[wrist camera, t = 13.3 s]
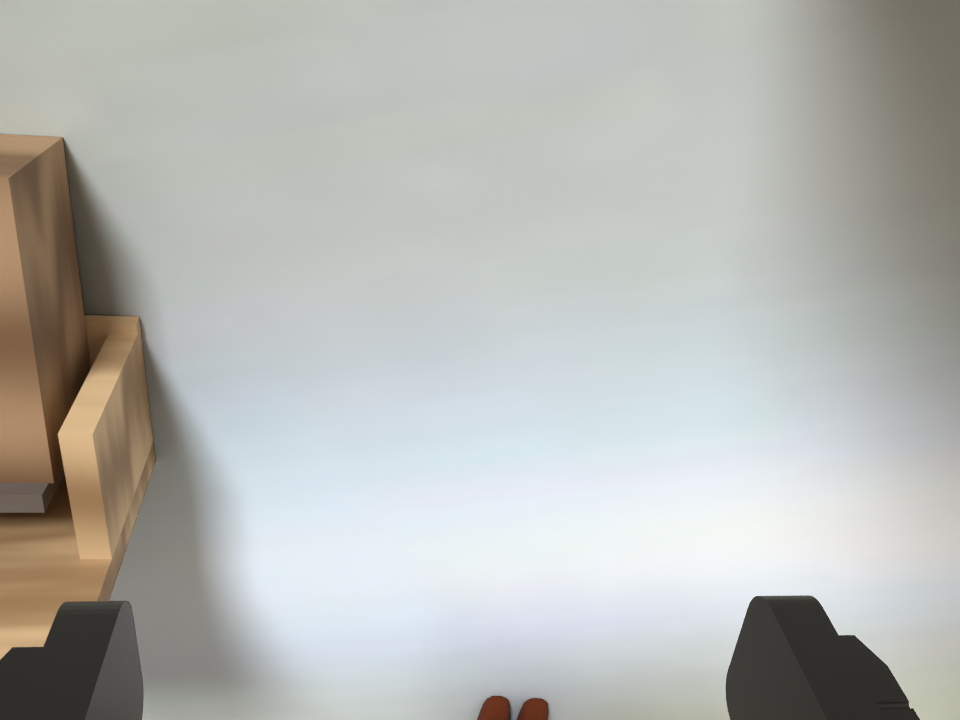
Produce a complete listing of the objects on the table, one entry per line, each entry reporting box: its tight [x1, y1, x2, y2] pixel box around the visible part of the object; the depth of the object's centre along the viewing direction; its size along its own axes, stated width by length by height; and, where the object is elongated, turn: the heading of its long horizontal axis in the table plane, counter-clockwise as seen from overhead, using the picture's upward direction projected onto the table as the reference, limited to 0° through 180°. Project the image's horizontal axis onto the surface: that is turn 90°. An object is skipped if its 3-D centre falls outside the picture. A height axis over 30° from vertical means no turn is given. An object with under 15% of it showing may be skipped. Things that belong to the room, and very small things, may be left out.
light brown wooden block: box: [0, 134, 91, 513], centre depth 35 cm, size 13×4×7 cm, turn 175°
